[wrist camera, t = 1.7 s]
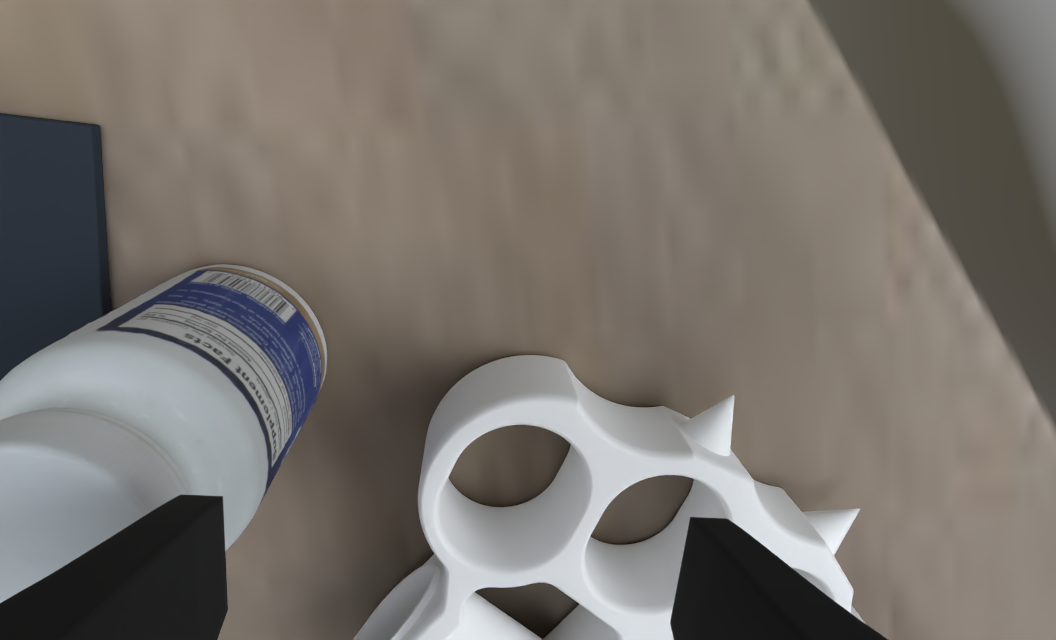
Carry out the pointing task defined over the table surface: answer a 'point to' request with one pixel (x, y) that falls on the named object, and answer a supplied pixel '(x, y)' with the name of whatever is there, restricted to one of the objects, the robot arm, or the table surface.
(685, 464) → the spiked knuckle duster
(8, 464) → the pill bottle
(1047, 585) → the table surface
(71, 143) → the mat
